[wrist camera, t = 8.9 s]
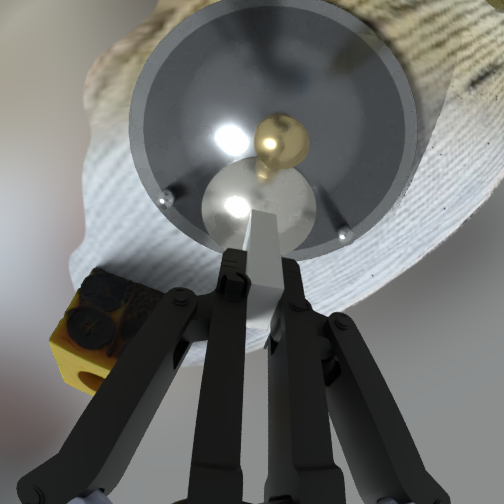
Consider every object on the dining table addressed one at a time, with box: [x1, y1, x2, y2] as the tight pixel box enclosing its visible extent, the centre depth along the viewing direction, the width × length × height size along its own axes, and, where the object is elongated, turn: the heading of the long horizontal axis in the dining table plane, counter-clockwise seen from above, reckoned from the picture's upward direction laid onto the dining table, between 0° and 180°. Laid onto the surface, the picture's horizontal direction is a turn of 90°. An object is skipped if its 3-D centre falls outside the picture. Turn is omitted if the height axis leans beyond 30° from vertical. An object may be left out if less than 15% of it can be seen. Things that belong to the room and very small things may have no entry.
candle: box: [49, 268, 165, 396], centre depth 24 cm, size 10×10×10 cm
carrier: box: [129, 0, 418, 261], centre depth 15 cm, size 20×20×4 cm
